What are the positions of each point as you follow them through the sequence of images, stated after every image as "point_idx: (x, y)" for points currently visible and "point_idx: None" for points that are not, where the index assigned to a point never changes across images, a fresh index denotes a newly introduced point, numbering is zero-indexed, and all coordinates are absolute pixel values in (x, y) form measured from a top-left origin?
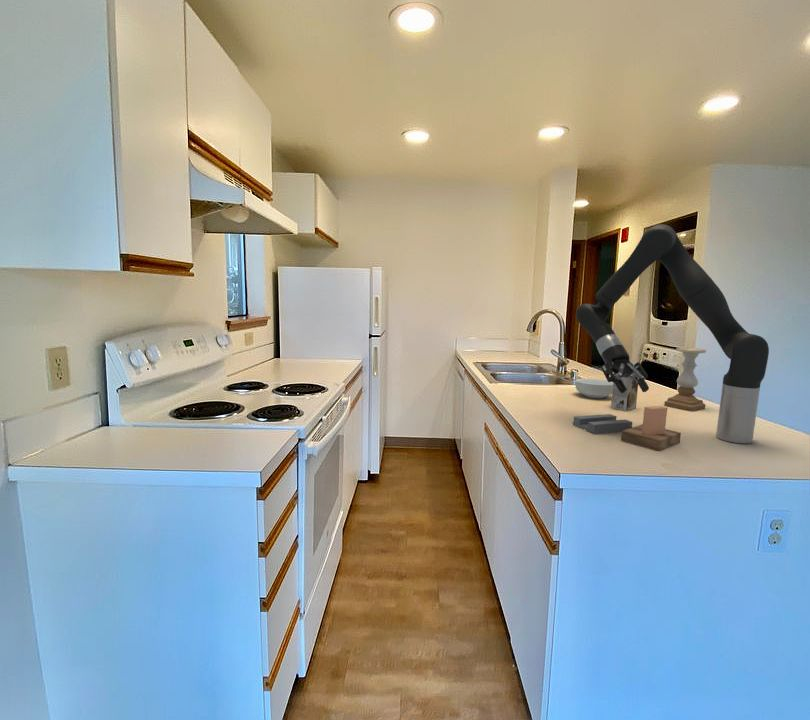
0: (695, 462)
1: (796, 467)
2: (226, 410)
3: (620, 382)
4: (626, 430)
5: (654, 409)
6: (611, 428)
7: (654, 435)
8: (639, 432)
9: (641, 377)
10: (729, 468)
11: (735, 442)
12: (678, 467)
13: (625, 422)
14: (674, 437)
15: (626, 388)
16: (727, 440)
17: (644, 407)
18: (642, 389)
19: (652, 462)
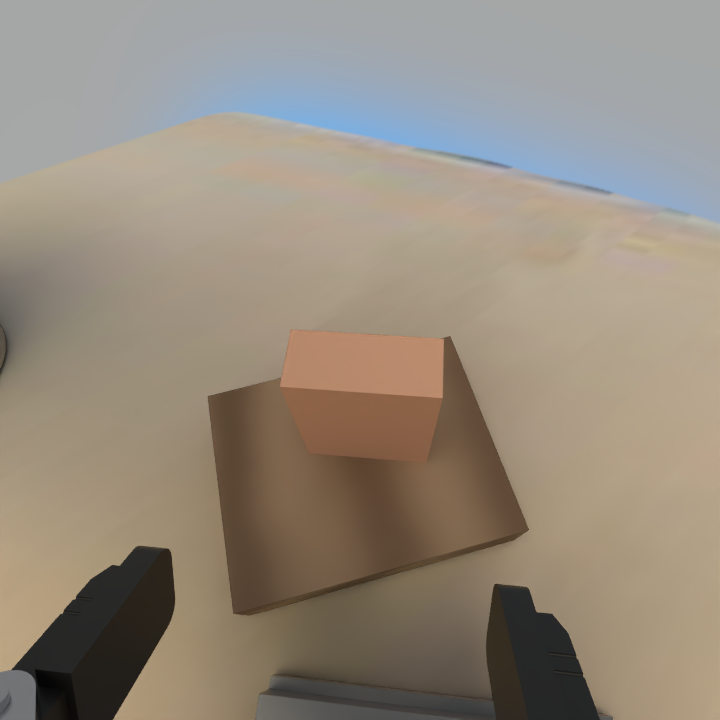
0: (414, 243)
1: (142, 147)
2: None
3: (561, 712)
4: (487, 528)
5: (412, 340)
6: (454, 712)
7: None
8: (436, 471)
9: (37, 700)
10: (354, 186)
11: (2, 330)
12: (523, 230)
13: (327, 701)
14: None
15: (502, 589)
16: (2, 353)
17: (441, 400)
18: (158, 628)
19: (584, 282)
